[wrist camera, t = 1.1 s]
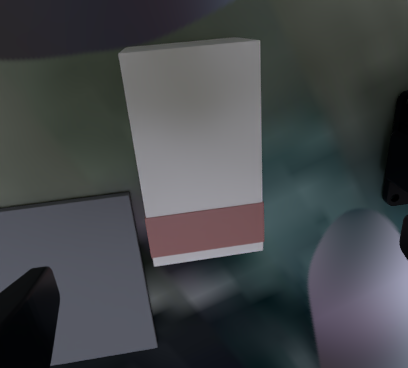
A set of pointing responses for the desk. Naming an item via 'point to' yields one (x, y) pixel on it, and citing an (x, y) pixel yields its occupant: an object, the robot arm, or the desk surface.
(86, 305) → the desk mat
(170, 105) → the card deck box
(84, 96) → the desk surface
